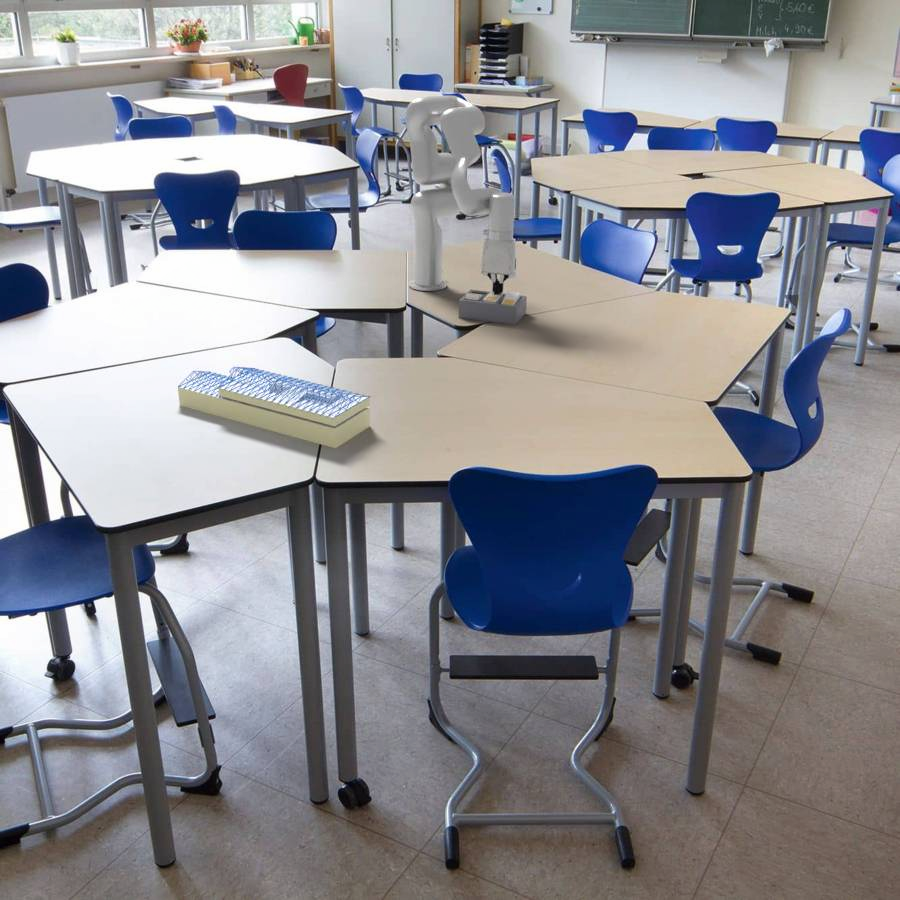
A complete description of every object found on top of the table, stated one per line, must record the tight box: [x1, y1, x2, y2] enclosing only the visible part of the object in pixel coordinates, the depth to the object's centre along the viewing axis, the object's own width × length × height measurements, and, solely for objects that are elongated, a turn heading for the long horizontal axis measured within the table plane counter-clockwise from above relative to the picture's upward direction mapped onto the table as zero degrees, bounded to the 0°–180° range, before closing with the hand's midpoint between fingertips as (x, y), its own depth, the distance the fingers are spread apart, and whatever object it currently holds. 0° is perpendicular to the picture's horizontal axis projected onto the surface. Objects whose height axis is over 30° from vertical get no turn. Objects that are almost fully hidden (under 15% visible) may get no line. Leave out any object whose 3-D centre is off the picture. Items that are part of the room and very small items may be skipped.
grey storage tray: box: [458, 289, 528, 326], centre depth 300 cm, size 12×18×6 cm, turn 72°
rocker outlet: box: [501, 291, 521, 305], centre depth 297 cm, size 8×4×2 cm, turn 161°
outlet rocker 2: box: [483, 291, 503, 303], centre depth 299 cm, size 8×4×2 cm, turn 161°
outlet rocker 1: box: [465, 292, 485, 301], centre depth 300 cm, size 8×4×2 cm, turn 162°
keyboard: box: [177, 366, 372, 449], centre depth 227 cm, size 45×15×10 cm, turn 61°
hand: (497, 294), depth 301 cm, fingers closed
